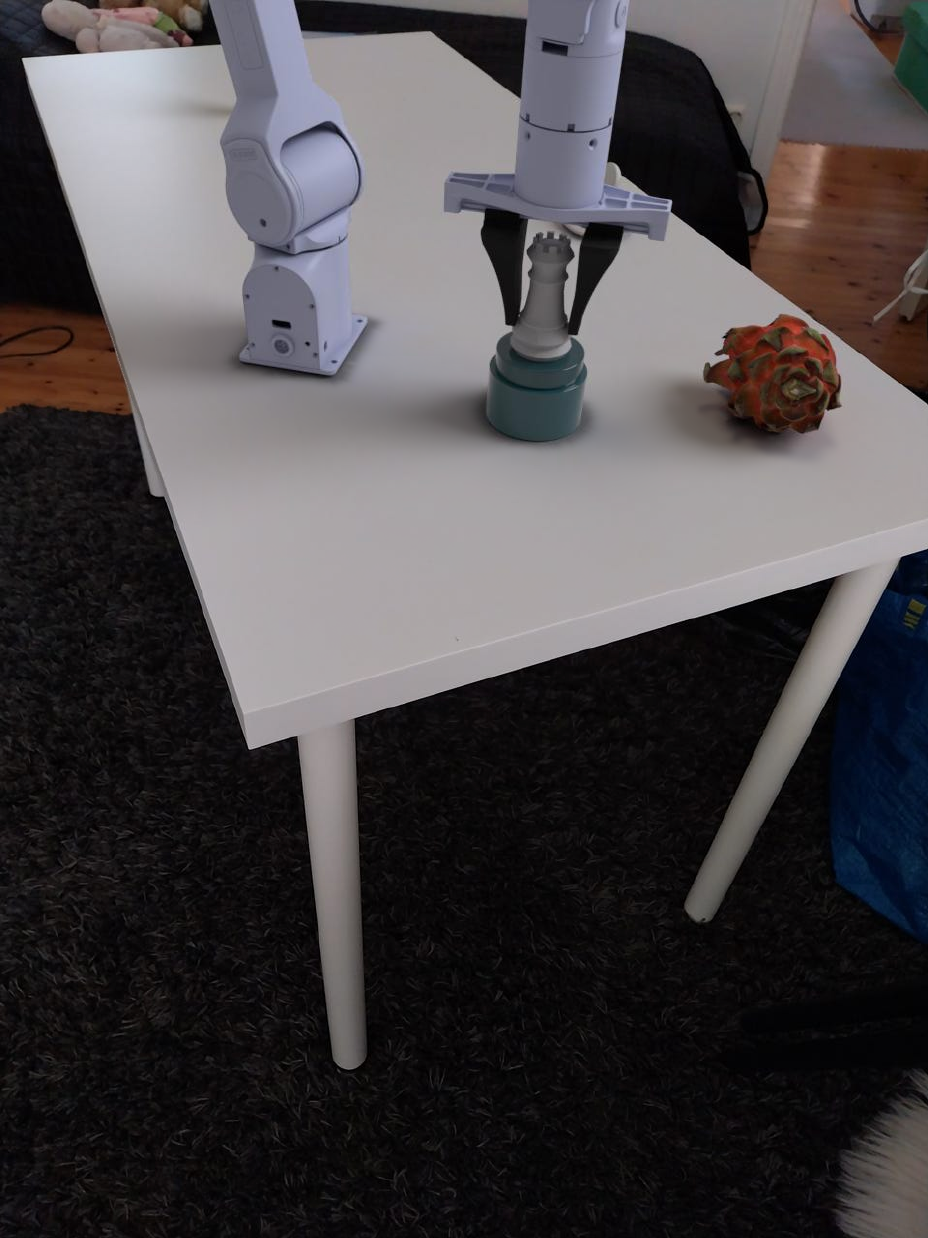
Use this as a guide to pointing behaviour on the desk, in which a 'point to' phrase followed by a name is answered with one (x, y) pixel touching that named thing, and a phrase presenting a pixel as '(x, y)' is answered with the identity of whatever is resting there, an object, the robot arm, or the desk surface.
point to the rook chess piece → (545, 301)
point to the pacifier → (610, 179)
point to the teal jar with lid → (535, 393)
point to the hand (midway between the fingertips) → (543, 323)
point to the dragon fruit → (778, 374)
